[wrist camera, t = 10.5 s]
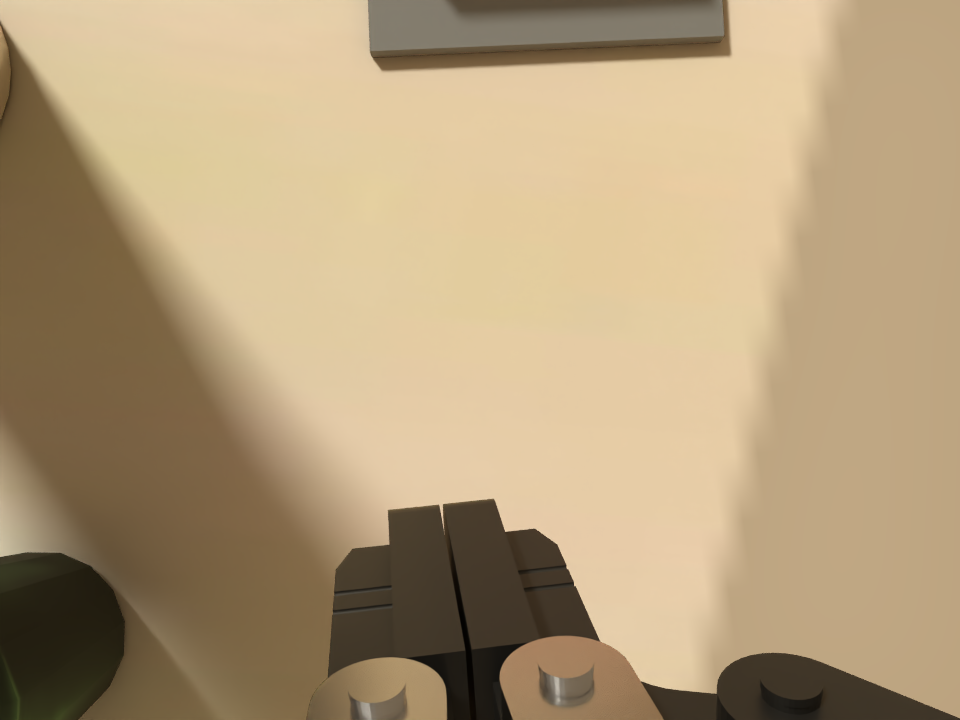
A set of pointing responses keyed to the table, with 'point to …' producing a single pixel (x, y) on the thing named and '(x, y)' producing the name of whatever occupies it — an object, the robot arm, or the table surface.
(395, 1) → the mat
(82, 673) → the potion bottle
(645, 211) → the table surface
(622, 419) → the table surface
